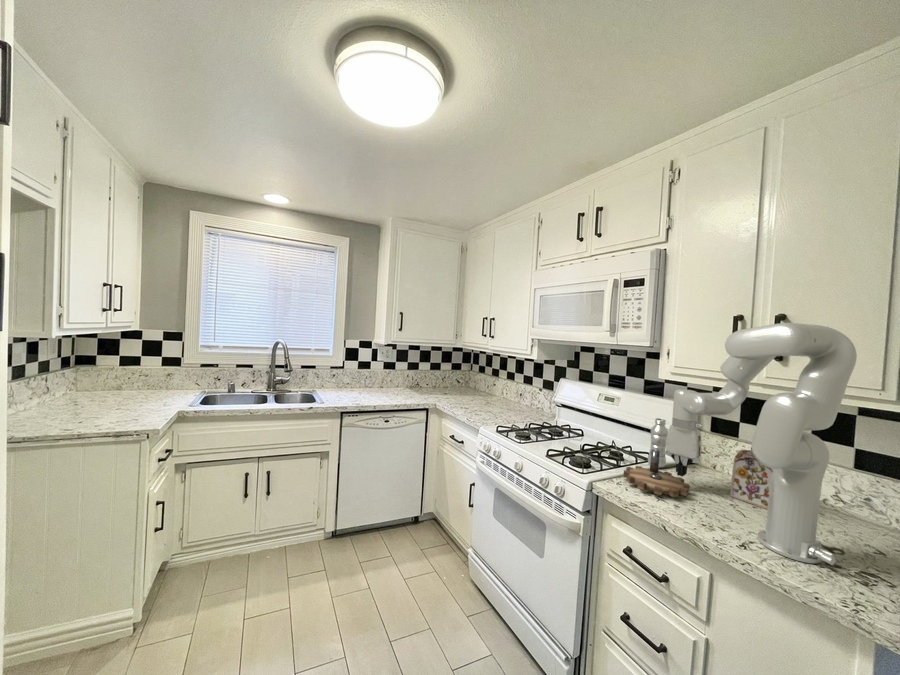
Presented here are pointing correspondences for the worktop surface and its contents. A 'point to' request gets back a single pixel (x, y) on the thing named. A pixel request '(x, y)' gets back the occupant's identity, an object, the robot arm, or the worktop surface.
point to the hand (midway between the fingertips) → (681, 475)
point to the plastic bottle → (659, 440)
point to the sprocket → (656, 478)
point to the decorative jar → (750, 479)
